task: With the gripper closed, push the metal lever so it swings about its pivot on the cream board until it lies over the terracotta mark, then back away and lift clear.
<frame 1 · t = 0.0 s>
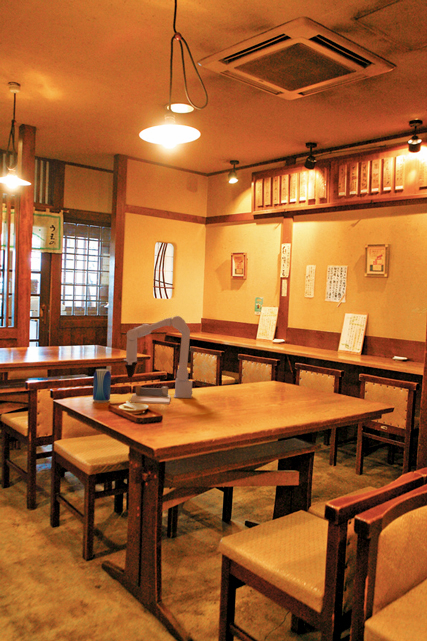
hand: (130, 376, 273), 10 cm above the table, tool pointing down, fingers open, 7 cm apart
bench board: (150, 399, 263), on the table
lever: (152, 390, 268), point 4 cm above the table, hinge at 0.0°
beer can: (101, 401, 252), on the table
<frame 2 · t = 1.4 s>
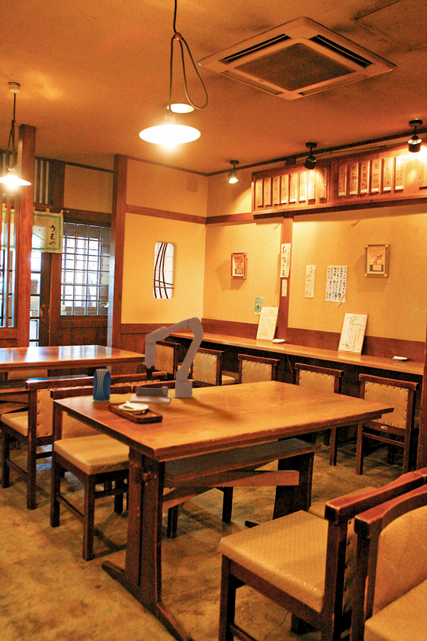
hand: (149, 379, 275), 8 cm above the table, tool pointing down, fingers closed
nothing on the table moved.
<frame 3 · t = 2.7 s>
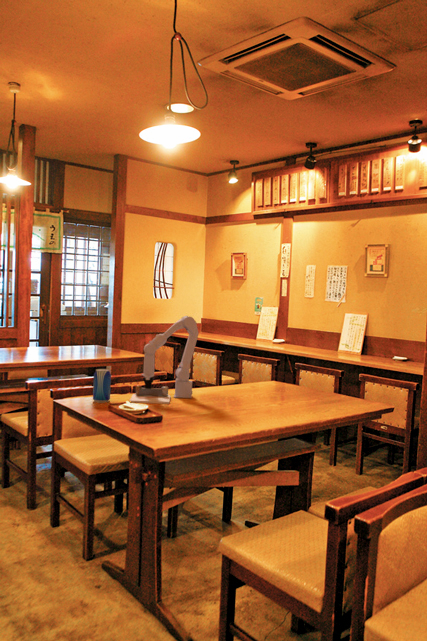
hand: (148, 391, 270), 3 cm above the table, tool pointing down, fingers closed
lever: (151, 390, 268), point 4 cm above the table, hinge at 0.1°, touching gripper
everything else where it was.
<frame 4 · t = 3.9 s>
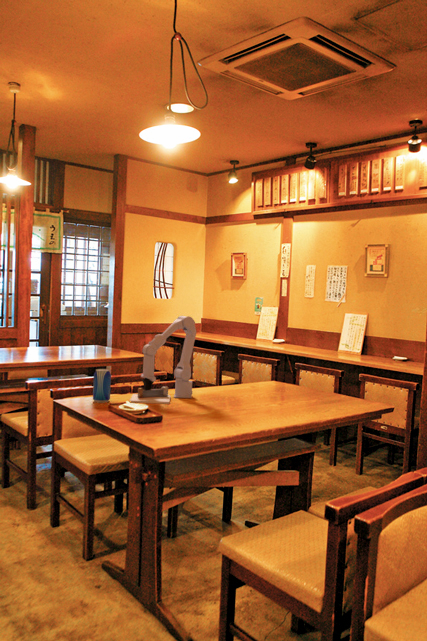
hand: (147, 392, 265), 3 cm above the table, tool pointing down, fingers closed
lever: (153, 392, 264), point 4 cm above the table, hinge at 28.7°, touching gripper
everything else where it was.
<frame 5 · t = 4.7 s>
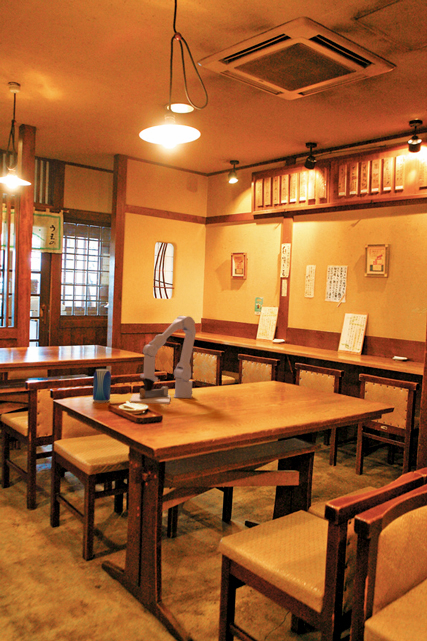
hand: (148, 393, 264), 3 cm above the table, tool pointing down, fingers closed
lever: (154, 392, 264), point 4 cm above the table, hinge at 37.3°, touching gripper
everything else where it was.
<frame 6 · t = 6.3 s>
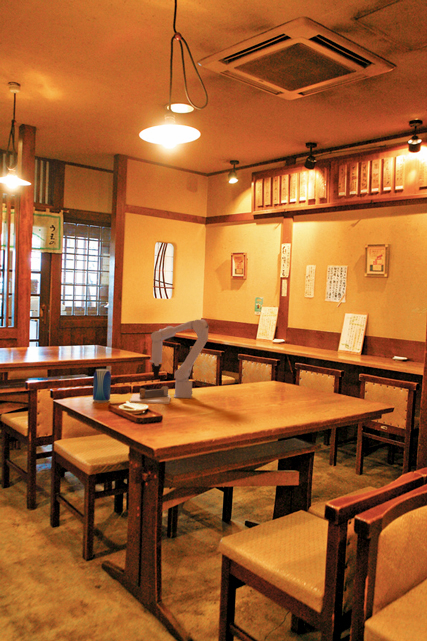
hand: (156, 377, 278), 9 cm above the table, tool pointing down, fingers closed
lever: (154, 392, 264), point 4 cm above the table, hinge at 37.4°
everything else where it was.
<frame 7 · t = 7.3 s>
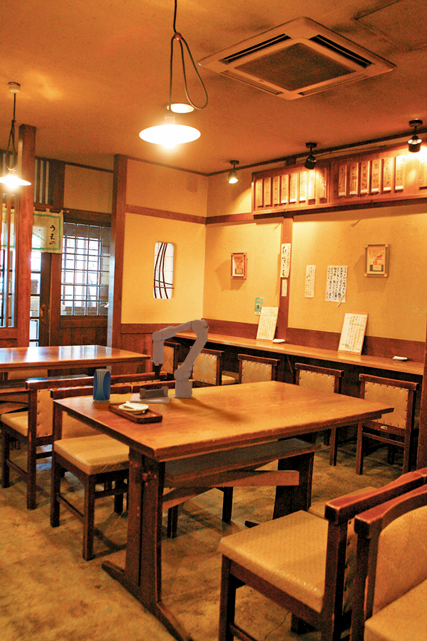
hand: (157, 376, 279), 9 cm above the table, tool pointing down, fingers closed
nothing on the table moved.
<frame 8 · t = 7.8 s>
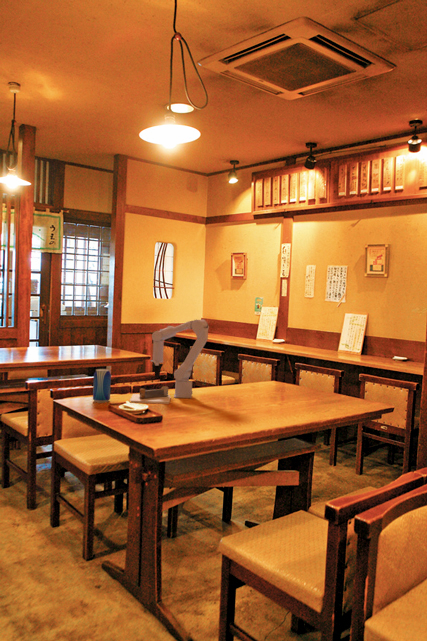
hand: (157, 376, 279), 9 cm above the table, tool pointing down, fingers closed
nothing on the table moved.
at the end: lever at +37° (first picture: +0°); beer can moved 0.2 cm from its start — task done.
